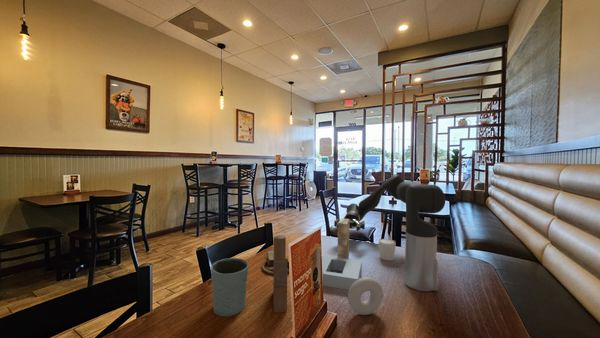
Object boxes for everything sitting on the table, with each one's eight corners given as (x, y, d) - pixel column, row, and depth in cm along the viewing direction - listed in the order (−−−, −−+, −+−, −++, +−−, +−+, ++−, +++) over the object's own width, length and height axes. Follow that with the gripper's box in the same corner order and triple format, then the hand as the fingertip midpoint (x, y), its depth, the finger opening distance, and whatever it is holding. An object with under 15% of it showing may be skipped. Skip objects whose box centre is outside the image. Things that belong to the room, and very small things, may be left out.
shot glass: (377, 254, 109) (377, 238, 109) (393, 254, 108) (393, 238, 108) (379, 260, 103) (380, 243, 102) (397, 261, 102) (397, 244, 101)
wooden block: (273, 313, 68) (273, 247, 67) (273, 291, 78) (273, 234, 77) (287, 312, 68) (287, 247, 67) (284, 291, 79) (285, 234, 78)
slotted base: (361, 271, 92) (361, 260, 92) (357, 291, 79) (357, 279, 79) (319, 265, 97) (319, 255, 97) (308, 283, 84) (308, 271, 84)
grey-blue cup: (218, 296, 76) (218, 257, 75) (252, 297, 75) (252, 257, 75) (205, 318, 65) (204, 273, 65) (243, 319, 65) (243, 273, 65)
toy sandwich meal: (261, 277, 88) (261, 263, 88) (262, 261, 102) (262, 249, 102) (296, 275, 90) (296, 262, 90) (293, 259, 103) (293, 248, 103)
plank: (348, 256, 107) (349, 219, 106) (346, 264, 99) (346, 223, 98) (340, 255, 108) (341, 218, 107) (337, 262, 100) (337, 223, 99)
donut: (350, 321, 65) (351, 283, 64) (345, 312, 68) (345, 276, 68) (385, 315, 67) (386, 278, 67) (378, 307, 70) (379, 272, 70)
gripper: (338, 211, 132) (332, 218, 116) (366, 213, 127) (364, 221, 112) (338, 225, 132) (332, 234, 117) (366, 227, 128) (363, 237, 112)
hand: (347, 227), depth 114 cm, fingers open, 8 cm apart
